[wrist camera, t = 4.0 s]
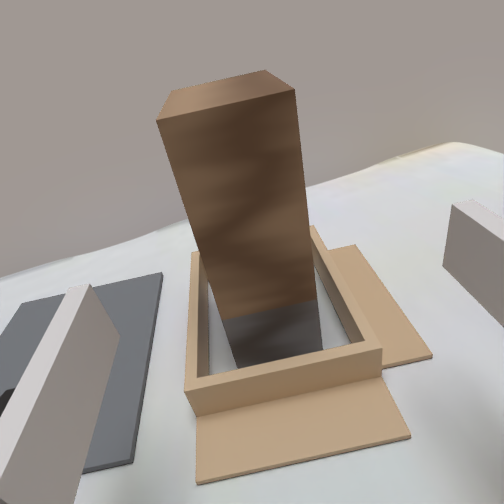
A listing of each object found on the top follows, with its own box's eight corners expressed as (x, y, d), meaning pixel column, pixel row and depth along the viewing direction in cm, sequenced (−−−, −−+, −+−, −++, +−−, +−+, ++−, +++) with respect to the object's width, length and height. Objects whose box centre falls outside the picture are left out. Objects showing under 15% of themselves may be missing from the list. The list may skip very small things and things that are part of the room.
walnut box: (238, 369, 20) (155, 120, 12) (230, 292, 26) (171, 90, 18) (322, 350, 20) (294, 88, 12) (295, 277, 26) (264, 69, 18)
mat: (-111, 516, 17) (-118, 513, 16) (24, 306, 29) (22, 303, 29) (132, 462, 16) (129, 458, 16) (163, 275, 29) (161, 272, 29)
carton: (197, 485, 15) (180, 457, 14) (200, 256, 30) (192, 233, 29) (477, 423, 15) (488, 389, 14) (340, 225, 30) (338, 200, 29)
